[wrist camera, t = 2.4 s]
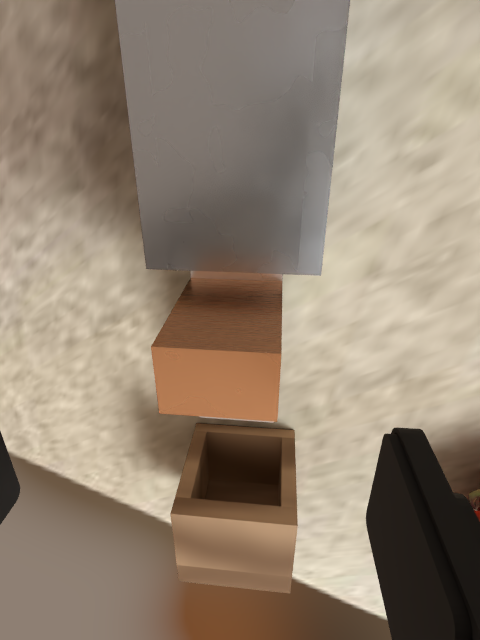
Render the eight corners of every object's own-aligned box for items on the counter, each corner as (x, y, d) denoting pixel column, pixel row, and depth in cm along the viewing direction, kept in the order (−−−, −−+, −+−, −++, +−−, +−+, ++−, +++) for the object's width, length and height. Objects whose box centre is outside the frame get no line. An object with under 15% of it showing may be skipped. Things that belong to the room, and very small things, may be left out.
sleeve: (155, -232, 12) (55, -504, 7) (351, -248, 12) (408, -556, 6) (185, 226, 19) (146, 268, 14) (310, 229, 19) (320, 275, 13)
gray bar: (189, -179, 12) (19, -711, 4) (306, -187, 12) (349, -777, 4) (211, 373, 22) (171, 515, 14) (275, 377, 22) (270, 524, 14)
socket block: (196, 422, 25) (170, 513, 20) (294, 430, 25) (297, 526, 19) (200, 485, 28) (178, 581, 22) (288, 493, 28) (290, 593, 22)
